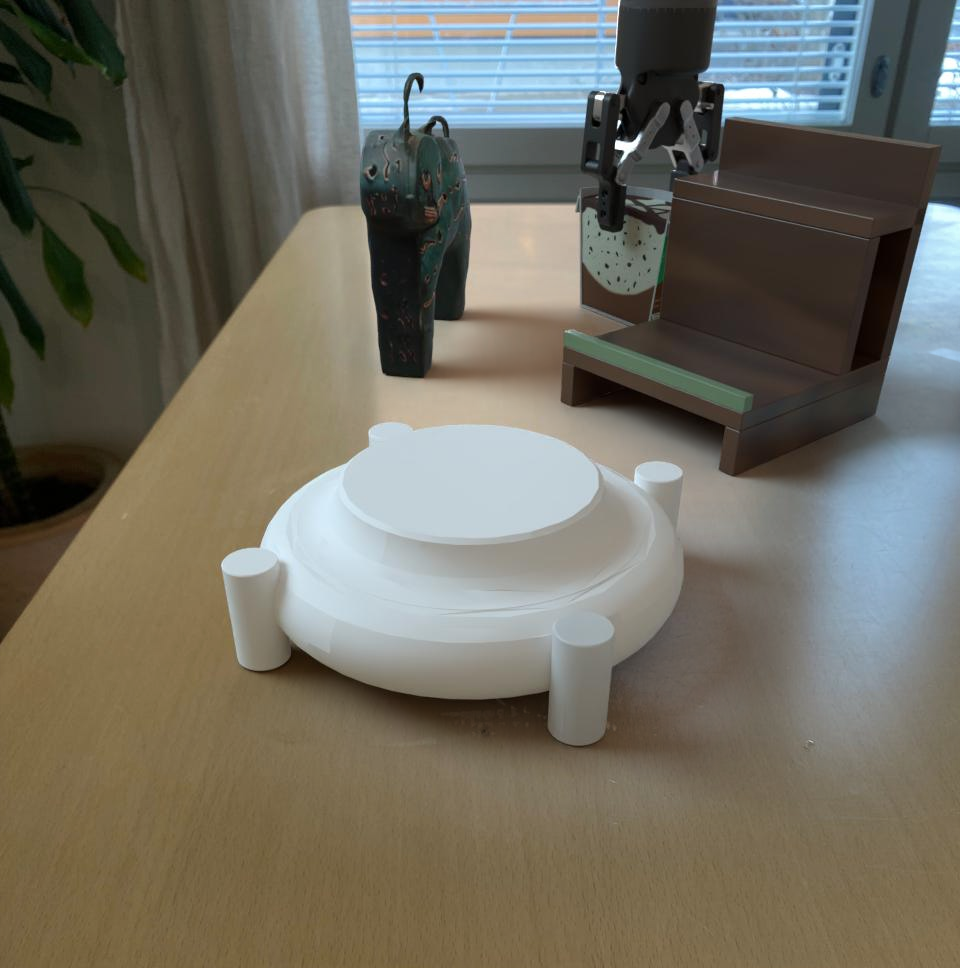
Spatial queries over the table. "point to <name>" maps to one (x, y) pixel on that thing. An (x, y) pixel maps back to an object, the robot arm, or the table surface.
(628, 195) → the food container
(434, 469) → the round stand with pegs
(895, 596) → the table surface
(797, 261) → the step rack
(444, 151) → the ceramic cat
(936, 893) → the table surface
